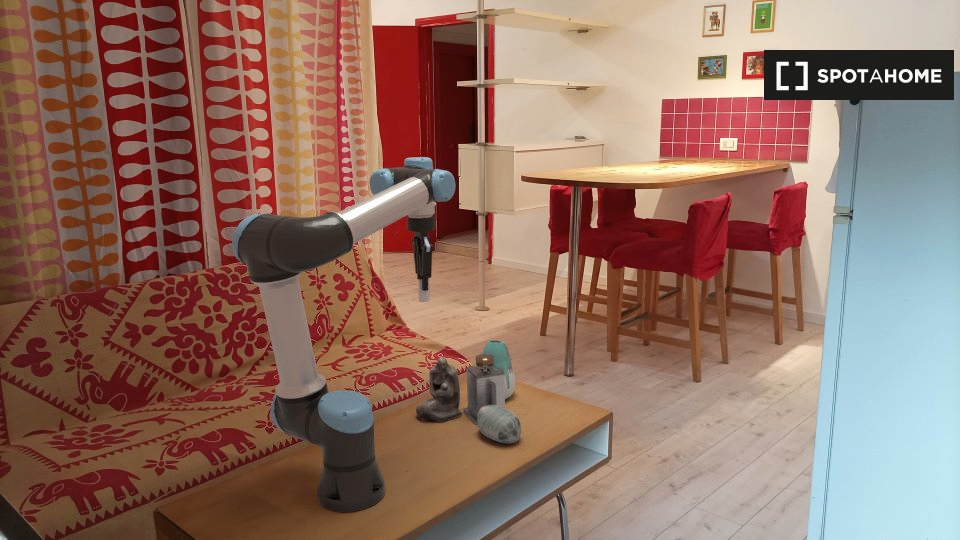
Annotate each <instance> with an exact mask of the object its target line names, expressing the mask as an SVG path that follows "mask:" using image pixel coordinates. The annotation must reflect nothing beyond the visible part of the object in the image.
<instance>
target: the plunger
mask: <svg viewBox="0 0 960 540" xmlns="http://www.w3.org/2000/svg"><path fill="white" fill-rule="evenodd" d="M493 365H494V356H493V355H490V354H483V353H482V354H477V355H476V356H475V366H479V367H483V372H486V371H487V367H490V366H493Z"/></svg>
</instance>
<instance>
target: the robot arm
mask: <svg viewBox="0 0 960 540" xmlns="http://www.w3.org/2000/svg"><path fill="white" fill-rule="evenodd" d="M433 165H434V164H433V160H432V158H430V157H428V156H427V157H425V156H420V157H419V156H418V157H407V158H405V159H404V165H403V166H402V167H389V168H385V167H384V168H382V169H381V168H380V169H377V170H375V171H373V172H372V174H371V175H370V178H369V188H370V189H369V190H370V192H371V194H372V196H369V197H367V198H365V199H364V200H361V201H359V202H356V203H355V204H353V205H351V206H349V207H346V208H345V209H342V210H340V211H339V212H336V211H327V212H325V213H323V214H320V215H317V216H316V215H315V216H309V217H308V216H307V217H304V216H302V217H300V216H289V215H287V216H286V215H280V214H273V213H270V212H269V213H268V212H267V213H254V214H251V215H248V216H247V217H245V218H244V219H242V220H241V222H239V224H238V226H237V228H236V229H234V232H233V235H232V238H231V239H232V240H231V246H232V251H233V255H234V256H235V258H236V259H237V261H239V262H240V263H241V264H243V265H246V269H247V273H248V277H249V281H250V282H251V283H252V284H255V285H256V286H257V287H259V292H260V296H261V301H262V306H263V310H264V311H263V312H264V314H265V315H264V316H265V319H266V323H267V328H268V333H269V337H270V342H271V346H272V351H273V356H274V359H275V364H276V369H277V373H278V377H279V383H278V384H277V385H276V387H275V392H274V395H273V397H272V399H273V401H272V402H270V416H271V420H272V422H273V424H274V425H275V427H276V428H277V429H278V430H279V431H281V432H283V433H285V435H288V436H290V437H293V438H295V439H298V440H301V441H305V442H306V443H310V444H312V445H314V446H317V447H320V448H321V453H322V462H323V463H322V464H323V468H322V470H321V475H320V479H319V482H318V486H317V501H318V503H319V504H320V506H321V507H323V508H325V509H327V510H329V511H331V512H340V513H350V512H358V511H362V510H366V509H368V508H371V507H372V506H375V505H376V504H378V503H379V502H380V501H381V500H382V499H384V496H385V494H386V482H385V479H384V476H383V475H382V472H381V470H380V468H379V464H378V462H377V461H376V460H377V459H376V445H375V425H374V422H375V421H374V420H375V417H374V416H375V415H374V413H373V409H372V408H373V407H372V403H371V401H370V399H369V398H368V397H367V396H365V395H364V394H363V393H360V392H358V391H355V390H343V389H341V390H340V389H339V390H334V391H329V388H328V384H327V379H326V377H325V376H324V375H322V374H321V373H318V367H317V363H316V357H315V353H314V349H313V343H312V339H311V333H310V328H309V322H308V320H307V315H306V309H305V305H304V299H303V294H302V290H301V285H300V280H299V279H300V277H301V275H302V274H303V273H304V272H308V271H311V270H315V269H317V268H320V267H322V266H325V265H327V264H329V263H331V262H333V261H335V260H337V259H339V258H342V256H345V255H346V254H348V253H350V252H351V251H352V250H353V248H354V246H355V244H357V243H358V242H360V241H362V240H363V239H366V238H368V237H369V236H371V235H373V234H375V233H377V232H378V231H380V230H383V229H384V228H386V227H388V226H390V225H392V224H393V223H396V222H397V221H399V220H401V219H403V218H404V217H406V216H407V218H406V226H407V229H406V230H407V231H409V232H411V233H414V234H413V235H414V236H413V237H412V238H411V244H412V252H413V260H414V273H415V274H416V278H417V286H418V289H417V291H418V302H419V303H427V302H428V303H429V302H431V299H430V298H431V297H430V296H431V295H430V278H432V270H433V269H432V267H433V266H432V265H433V251H434V250H433V249H434V245H433V244H431V243H432V240H431V237H430V233H429V232H432V231H435V230H436V217H435V216H434V215H435V212H436V211H435V207H436V206H437V203H436V202H438V203H441V202H448V201H450V200H451V199H452V198H453V196H454V194H455V191H456V181H455V177H454V175H453V173H451V172H450V171H448V170H444V169H439V168H436V169H435V168H434V166H433Z"/></svg>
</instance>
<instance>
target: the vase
mask: <svg viewBox="0 0 960 540" xmlns="http://www.w3.org/2000/svg"><path fill="white" fill-rule="evenodd" d="M482 354H490V355H493V356H494V364H495V365H496V366H497V367H498V368H499V369H501V370H502V371H503V372H504V383H505V400H507V399H509V398H510V397H511V396H512V395H513V393H514V391H515V389H516V376H515V371H514V370H515V369H514V367H513V363H512V360H511V357H510V353H509V349H508V346H507V344H506V343H505V341H503V340H500V339H490V340H487V342H486V343H485V345H484V348H483V350H482Z"/></svg>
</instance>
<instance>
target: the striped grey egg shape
mask: <svg viewBox="0 0 960 540" xmlns="http://www.w3.org/2000/svg"><path fill="white" fill-rule="evenodd" d="M477 423H478V425H477V427H478V430H479V432H480V433H481V434H482V435H483V436H485V437H486V438H488V439H490V440H492V441H495V442H497V443H500V444H506V445H507V444H508V445H509V444H511V445H512V444H516V443H517V442H518V441H519V439H520V437H521V434H522V427H521V421H520V419H519V417H518V416H517V415H516V413H515V412H513V411H512V410H511V409H508V408H507V407H505V408H504V407H501V406H497V405H487V406H484V407H482V408H481V409H480V410H479V412H478V416H477Z"/></svg>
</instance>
